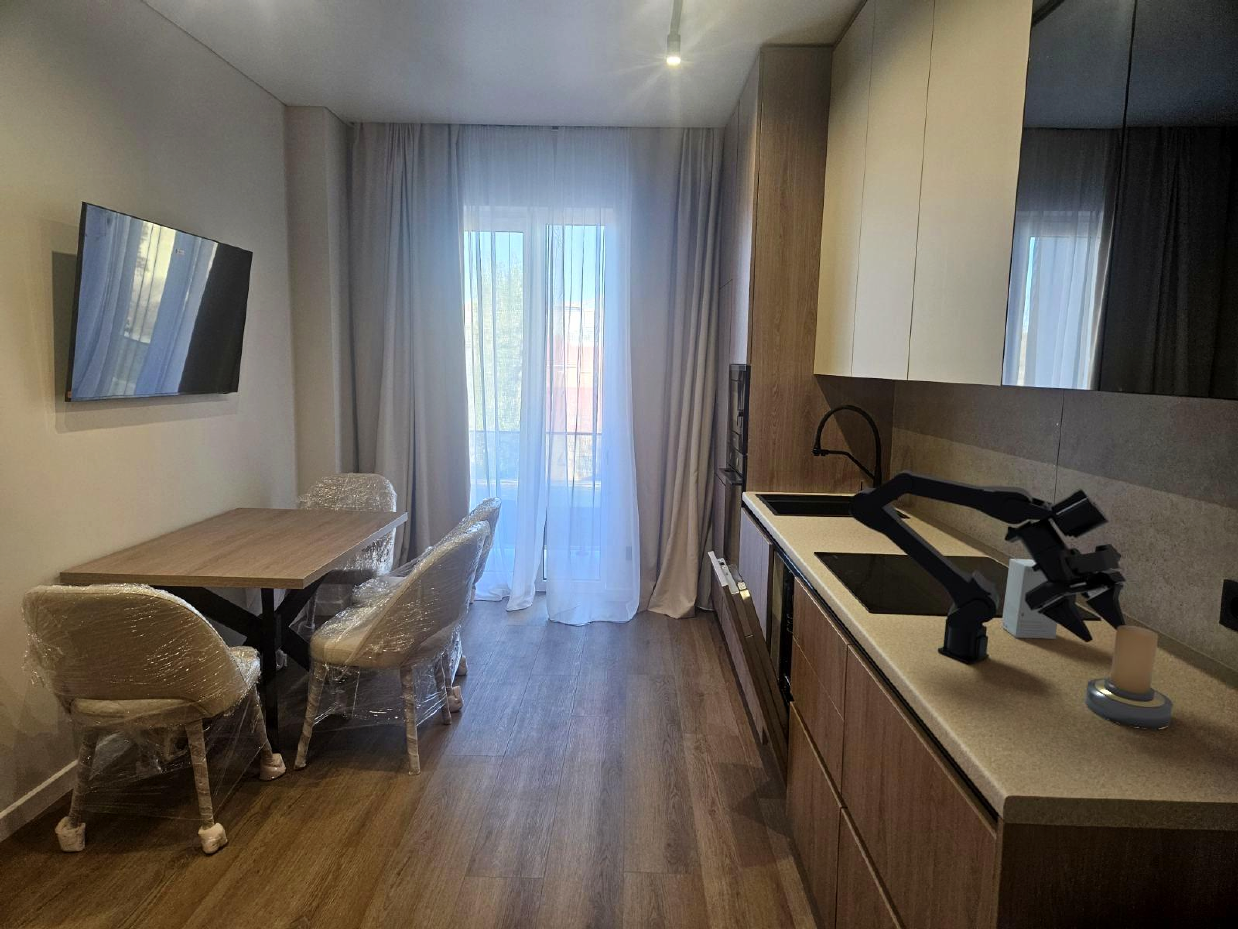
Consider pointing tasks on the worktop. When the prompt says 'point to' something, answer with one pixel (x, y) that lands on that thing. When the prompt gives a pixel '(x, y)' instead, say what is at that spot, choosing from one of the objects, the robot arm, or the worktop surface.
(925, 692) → the worktop surface
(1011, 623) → the skincare box
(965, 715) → the worktop surface
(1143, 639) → the tan rounded stopper
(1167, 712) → the grey round disc
